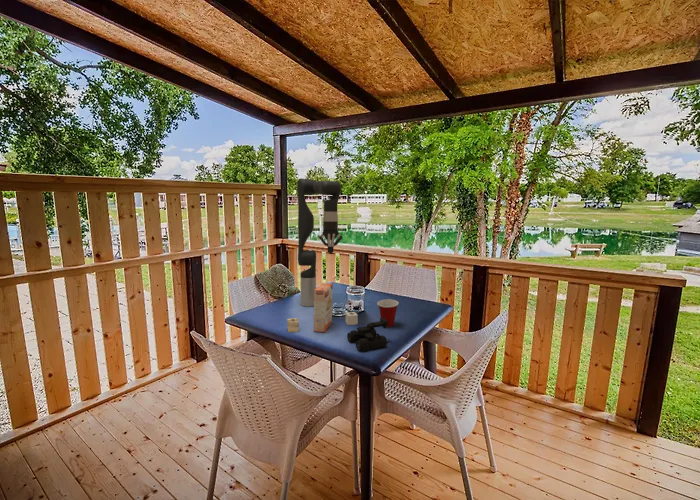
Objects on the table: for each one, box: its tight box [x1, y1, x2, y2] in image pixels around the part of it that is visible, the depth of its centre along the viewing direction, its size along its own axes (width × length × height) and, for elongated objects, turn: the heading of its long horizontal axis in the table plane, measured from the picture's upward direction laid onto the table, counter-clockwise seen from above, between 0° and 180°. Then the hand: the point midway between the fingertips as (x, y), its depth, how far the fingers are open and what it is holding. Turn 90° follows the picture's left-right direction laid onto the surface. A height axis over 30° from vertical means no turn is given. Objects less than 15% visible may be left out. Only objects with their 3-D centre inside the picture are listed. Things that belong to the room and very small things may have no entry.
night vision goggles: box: [346, 317, 388, 352], centre depth 142 cm, size 14×16×10 cm
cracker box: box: [313, 282, 334, 333], centre depth 160 cm, size 14×6×21 cm, turn 169°
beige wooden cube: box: [345, 311, 359, 326], centre depth 167 cm, size 5×5×5 cm
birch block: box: [286, 317, 300, 333], centre depth 157 cm, size 5×5×5 cm
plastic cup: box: [377, 299, 399, 328], centre depth 164 cm, size 11×11×12 cm
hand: (330, 253), depth 169 cm, fingers closed
